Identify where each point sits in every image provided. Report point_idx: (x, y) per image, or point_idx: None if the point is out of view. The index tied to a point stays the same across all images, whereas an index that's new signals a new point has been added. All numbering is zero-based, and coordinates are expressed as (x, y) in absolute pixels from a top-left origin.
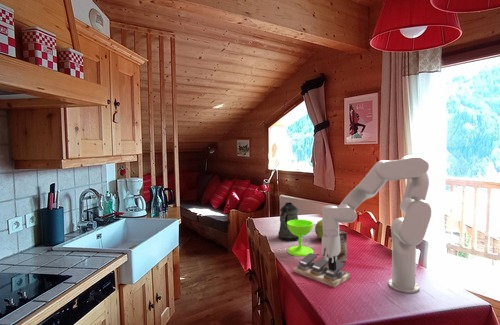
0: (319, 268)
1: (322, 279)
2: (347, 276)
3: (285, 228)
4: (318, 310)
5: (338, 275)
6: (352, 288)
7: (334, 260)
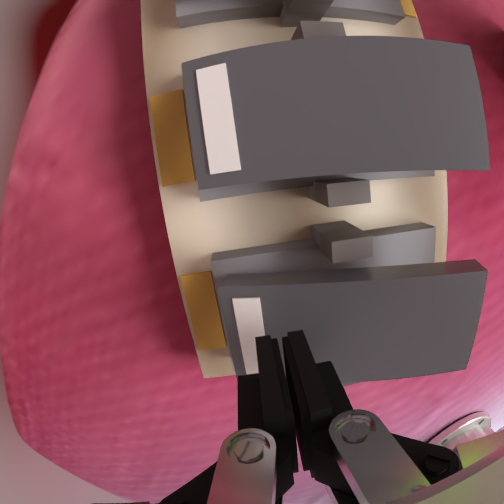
0: (224, 177)
1: (176, 266)
2: None
3: None
4: (14, 409)
5: None
6: None
7: (326, 480)
